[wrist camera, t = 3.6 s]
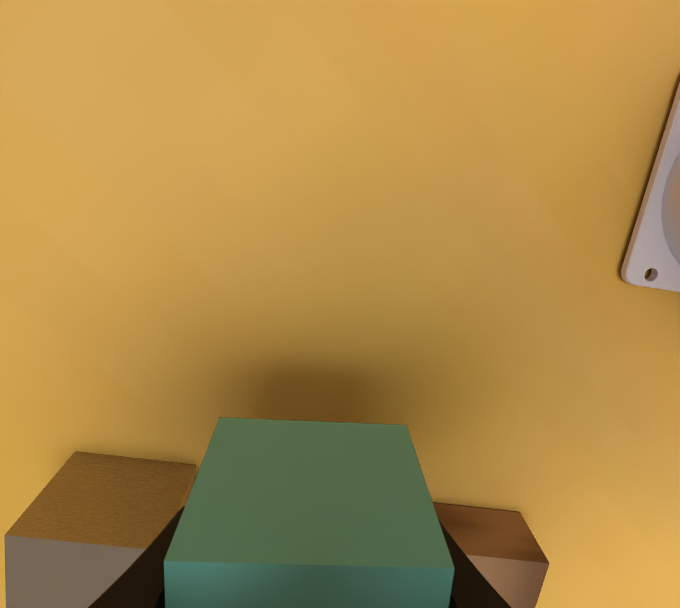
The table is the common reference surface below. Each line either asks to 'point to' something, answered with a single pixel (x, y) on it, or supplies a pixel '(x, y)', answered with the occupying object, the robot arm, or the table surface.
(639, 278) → the robot arm
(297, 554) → the teal cube
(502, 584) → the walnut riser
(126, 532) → the steel cube
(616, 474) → the table surface
